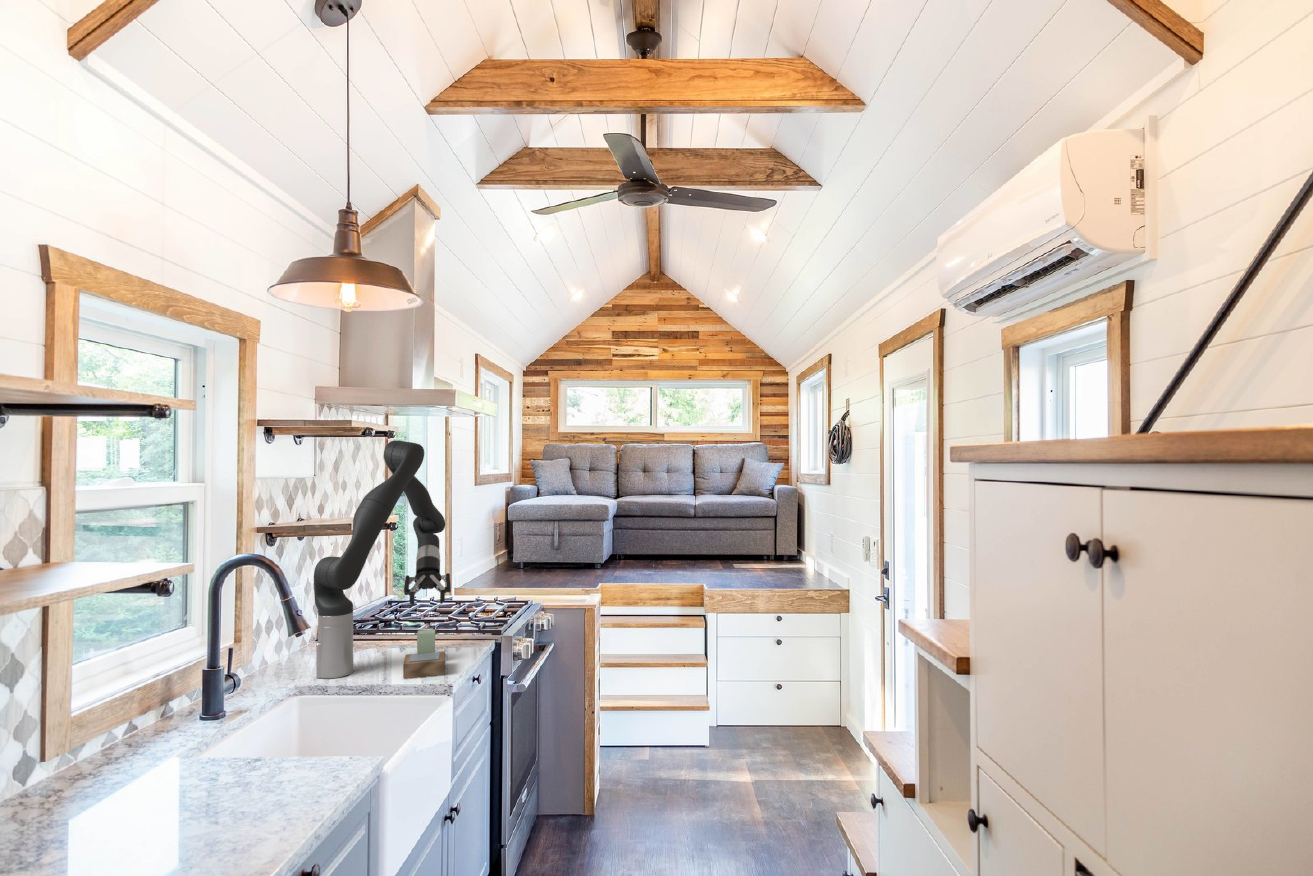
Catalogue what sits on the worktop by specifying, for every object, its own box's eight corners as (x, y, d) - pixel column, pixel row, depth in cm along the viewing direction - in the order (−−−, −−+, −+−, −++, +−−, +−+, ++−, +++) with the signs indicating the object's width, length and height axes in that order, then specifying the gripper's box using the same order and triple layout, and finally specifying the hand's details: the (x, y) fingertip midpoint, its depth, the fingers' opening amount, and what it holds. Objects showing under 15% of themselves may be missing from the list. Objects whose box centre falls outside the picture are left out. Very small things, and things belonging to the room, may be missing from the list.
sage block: (417, 665, 212) (417, 634, 212) (418, 660, 217) (417, 630, 217) (434, 663, 213) (434, 632, 213) (435, 659, 218) (435, 629, 218)
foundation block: (403, 679, 198) (403, 663, 198) (405, 668, 208) (405, 653, 208) (444, 675, 200) (444, 659, 201) (445, 664, 211) (445, 650, 211)
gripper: (404, 556, 233) (402, 597, 221) (450, 553, 237) (450, 594, 225) (406, 570, 238) (404, 611, 226) (450, 567, 241) (450, 608, 230)
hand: (427, 603), depth 226 cm, fingers open, 8 cm apart
